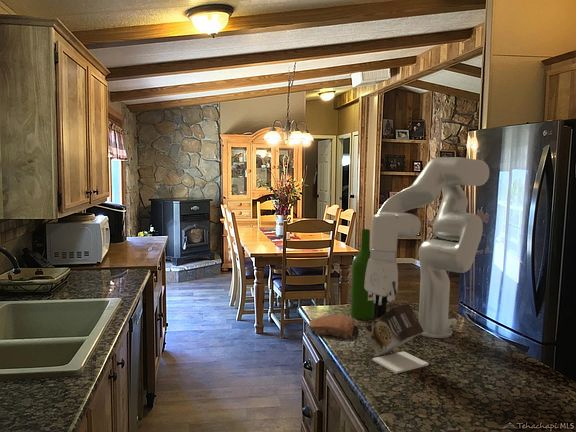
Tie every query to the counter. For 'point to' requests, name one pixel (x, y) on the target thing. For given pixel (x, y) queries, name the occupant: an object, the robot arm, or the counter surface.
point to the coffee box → (393, 329)
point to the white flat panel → (400, 362)
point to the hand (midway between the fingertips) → (379, 316)
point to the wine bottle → (361, 282)
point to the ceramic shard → (333, 326)
